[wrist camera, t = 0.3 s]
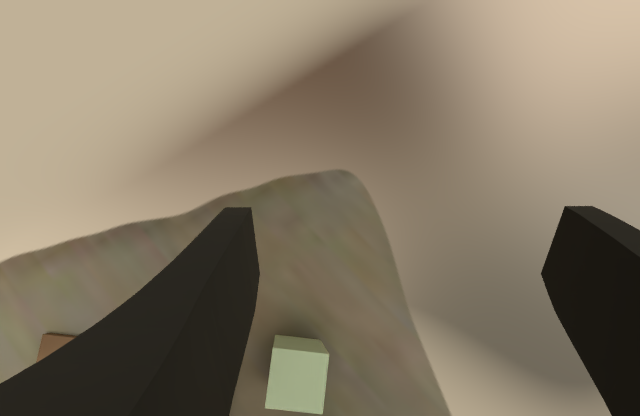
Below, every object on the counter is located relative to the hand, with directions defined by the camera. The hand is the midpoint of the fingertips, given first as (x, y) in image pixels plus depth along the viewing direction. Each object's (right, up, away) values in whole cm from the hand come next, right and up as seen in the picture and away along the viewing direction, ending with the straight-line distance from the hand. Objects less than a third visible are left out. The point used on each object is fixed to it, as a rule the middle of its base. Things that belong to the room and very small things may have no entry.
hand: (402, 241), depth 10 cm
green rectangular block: (-4, -13, +28) cm, 31 cm away
